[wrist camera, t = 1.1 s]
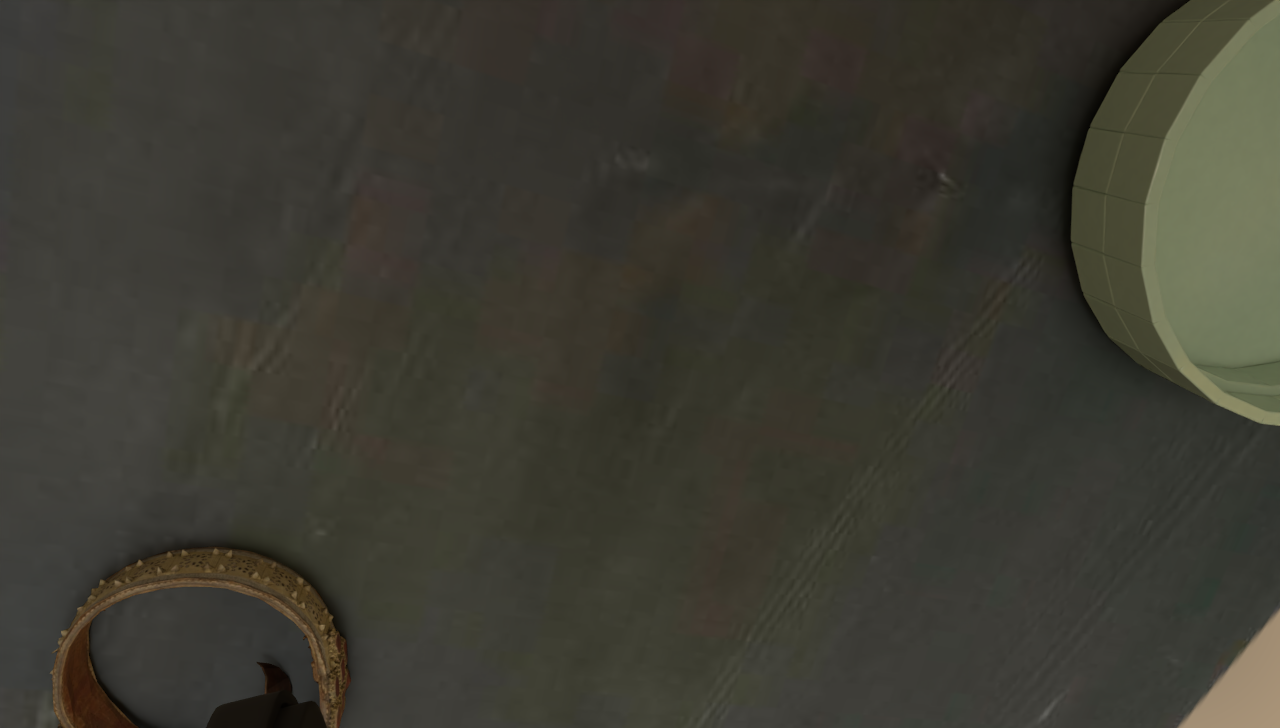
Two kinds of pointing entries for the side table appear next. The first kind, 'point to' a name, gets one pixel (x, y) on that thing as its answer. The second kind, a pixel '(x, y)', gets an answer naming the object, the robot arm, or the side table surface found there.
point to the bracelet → (77, 696)
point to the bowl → (1190, 205)
